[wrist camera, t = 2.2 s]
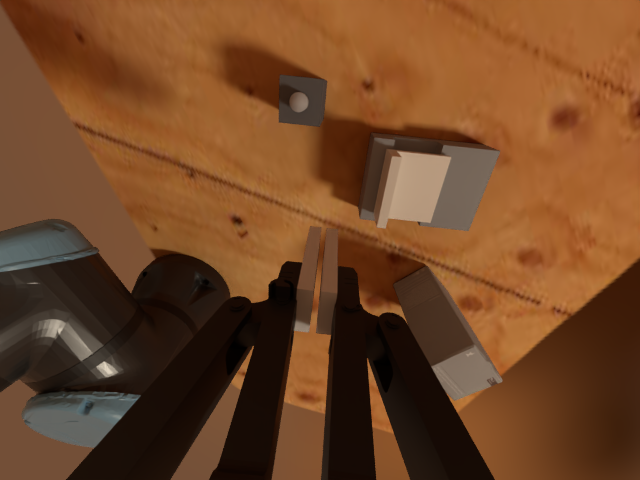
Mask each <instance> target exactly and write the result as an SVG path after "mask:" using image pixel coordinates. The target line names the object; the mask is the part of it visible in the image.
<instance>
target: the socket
mask: <svg viewBox="0 0 640 480" xmlns="http://www.w3.org/2000/svg"><path fill="white" fill-rule="evenodd" d="M386 149H393V150H402V151H411V152H420V153H430V154H439V155H448V156H450V157H451V160H450V163H449V166H448V169H447V173H446V176H445V179H444V182H443V185H442V188H441V191H440V195H439V198H438V201H437V204H436V207H435V210H434V213H433V216H432V220H431V223H427V222H418V221H417V222H418V224H419V225H420V226H428V227H437V228H446V229H455V230H464V231H469V228H470V226H471V223H472V221H473V218H474V216H475V213H476V211H477V208H478V206H479V203H480V201H481V198H482V196H483V193H484V191H485V188H486V186H487V183H488V181H489V178H490V176H491V173H492V171H493V168H494V166H495V163H496V161H497V158H498V156H499V153H500V151H499V150H496V149H494V148H491V147H489V146H486V145H483V144H474V143H465V142H455V141H446V140H437V139H427V138H418V137H409V136H399V135H390V134H381V133H372V132H371V135H370V141H369V147H368V153H367V159H366V165H365V170H364V176H363V182H362V188H361V194H360V199H359V205H358V209H359V216H360V219H365V220H374V221H375V219H374V215H373V213H374V208H375V203H376V198H377V193H378V188H379V183H380V179H381V174H382V169H383V164H384V159H385V154H386Z"/></svg>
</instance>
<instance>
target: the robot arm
mask: <svg viewBox="0 0 640 480" xmlns="http://www.w3.org/2000/svg"><path fill="white" fill-rule="evenodd" d="M320 236H321V227H312V226H310V229H309V234H308V239H307V244H306V248H305V253H304V258H303V263H300V262H291V261H287V262H285V263H284V264H283V265H282V267H281V270H280V273H279V277H278V279H274V280H273V281H271V282H270V284H269V299H267V300H265V301H262V302H257V303H251V301H250V300H249V299H248V298H246V297H241V296H237V297H232V298H230V292H229V289H228V286H227V284H226V282H225V281H224V279H223V278H222V277H221V275H220V274H219V273H218V272H217V271H216V270H214V269H213V268H212V267H211V266H209V265H208V264H206V263H204V262H202V261H200V260H198V259H195V258H193V257H189V256H184V255H166V256H162V257H159V258H157V259H155V260H154V261H152V262H151V263H150V264H149V265H148V266H147V267H146V268H145V269H144V270H143V271H142V272H141V274H140V275H139V277H138V279H137V281H136V284H135V286H134V288H133V290H132V293H130V292H129V291H128V290H127V289H126V287H125V286H124V285H123V283H122V282H121V281H120V280H119V279H118V277H117V276H116V275H115V273H114V272H113V271H112V270H111V268H110V267H109V266H108V265H107V263H106V262H105V261H104V259H103V258H102V257H101V256H100V254H99V253H98V252H99V250H98V248H96V247H93V246H92V245H91V244H90V242H89V241H88V240H87V239H86V238H85V237H84V236H83V235H82V233H81V232H80V231H79V230H78V229H77V228H76V227H75V226H74V225H72V224H71V223H69V222H67V221H64V220H59V219H48V220H43V221H39V222H34V223H31V224H27V225H23V226H19V227H15V228H12V229H8V230H5V231H1V232H0V392H1V391H3V390H4V389H5V388H7V387H8V386H10V385H11V384H13V383H14V382H15V381H17V380H19V379H20V380H21V381H22V382H24V383H25V384H26V385H28V386H29V387H30V388H31V389H33V390H34V391H35V392H36V396H34V397H32V398H31V399H30V400H28V401H27V404H26V406H25V408H24V409H23V411H22V418H23V419H24V420H25V421H24V422H25V424H26V425H28V426H29V427H30V428H31V429H33V430H35V431H36V432H38V433H41V434H42V435H45V436H47V437H50V438H53V439H55V440H58V441H62V442H65V443H69V444H74V445H79V446H86V447H94V449H93V450H92V451H91V452H90V453H89V455H88V456H87V457H86V458H85V459H84V460H83V461H82V462H81V464H80V465H79V466H78V467H77V468H76V469H75V470H74V471H73V473H72V474H71V475H70V476H69V477H68V478H67V479H66V480H170V479H171V478H172V476H173V474H174V473H175V471H176V470H177V468H178V466H179V465H180V463H181V461H182V460H183V458H184V457H185V455H186V453H187V452H188V450H189V449H190V447H191V445H192V444H193V442H194V440H195V439H196V437H197V436H198V434H199V433H200V431H201V429H202V428H203V426H204V425H205V423H206V421H207V419H208V418H209V416H210V415H211V413H212V412H213V410H214V408H215V407H216V405H217V404H218V402H219V400H220V399H221V397H222V395H223V394H224V392H225V391H226V389H227V388H228V386H229V384H230V383H231V381H232V379H233V378H234V376H235V375H236V373H237V371H238V370H239V368H240V367H241V365H242V363H243V362H244V360H245V359H246V357H247V355H248V354H249V352H250V350H251V349H252V346H254V349H253V352H252V355H251V359H250V362H249V365H248V368H247V372H246V375H245V378H244V382H243V385H242V388H241V392H240V395H239V398H238V402H237V405H236V408H235V412H234V415H233V418H232V422H231V425H230V428H229V432H228V435H227V438H226V441H225V445H224V448H223V452H222V455H221V458H220V461H219V464H218V466H217V468H216V469H215V470H214V471H213V472H212V475H211V477H210V479H209V480H271V479H272V473H273V466H274V460H275V453H276V447H277V441H278V435H279V428H280V422H281V415H282V409H283V402H284V396H285V389H286V383H287V377H288V370H289V364H290V357H291V351H292V344H293V336H294V331H302V332H309V328H310V320H311V312H312V304H313V296H314V288H315V280H316V272H317V264H318V255H319V245H320ZM316 333H319V334H328V335H331V339H330V346H329V352H328V354H329V365H328V381H327V397H326V412H325V428H324V444H323V459H322V476H321V480H376V471H375V458H374V445H373V431H372V418H371V405H370V392H369V379H368V366H367V358H368V359H369V363H370V366H371V369H372V372H373V375H374V378H375V381H376V383H377V386H378V389H379V392H380V395H381V398H382V400H383V403H384V406H385V409H386V412H387V415H388V417H389V420H390V423H391V426H392V429H393V432H394V435H395V437H396V440H397V443H398V446H399V449H400V451H401V454H402V457H403V460H404V463H405V466H406V468H407V472H408V474H409V477H410V480H495V479H494V477H493V476H492V474H491V472H490V470H489V468H488V467H487V465H486V463H485V461H484V460H483V458H482V456H481V454H480V453H479V451H478V449H477V447H476V445H475V444H474V442H473V440H472V439H471V437H470V435H469V433H468V431H467V429H466V428H465V426H464V424H463V422H462V420H461V419H460V417H459V415H458V413H457V412H456V410H455V408H454V406H453V404H452V403H451V401H450V399H449V397H448V396H447V394H446V392H445V390H444V388H443V387H442V385H441V383H440V381H439V380H438V378H437V376H436V374H435V372H434V371H433V369H432V367H431V365H430V364H429V362H428V360H427V358H426V356H425V355H424V353H423V351H422V349H421V348H420V346H419V344H418V342H417V340H416V339H415V337H414V335H413V333H412V332H411V330H410V328H409V326H408V324H407V323H406V321H405V320H404V319H403V318H402V317H401V316H399V315H397V314H394V313H388V312H387V313H383V314H381V315H380V316H379V317H378V316H375V315H372V314H370V313H368V312H367V311H365V310H364V309H363V307H362V305H361V304H360V298H359V287H358V277H357V273H356V271H355V270H354V268H350V267H341V266H338V229H330V228H327V230H326V239H325V247H324V256H323V265H322V276H321V286H320V297H319V307H318V318H317V328H316Z"/></svg>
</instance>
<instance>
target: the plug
mask: <svg viewBox="0 0 640 480" xmlns="http://www.w3.org/2000/svg"><path fill="white" fill-rule="evenodd" d="M326 88H327V81H326V80H324V79H316V78H306V77H297V76H287V75H280V84H279V122H281V123H290V124H299V125H308V126H318V127H320V125H321V123H322V121H323V119H324V110H325V99H326Z"/></svg>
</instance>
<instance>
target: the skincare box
mask: <svg viewBox="0 0 640 480" xmlns="http://www.w3.org/2000/svg"><path fill="white" fill-rule="evenodd" d="M393 286H394V289H395V291H396V294H397V297H398V299H399V302H400V305H401V307H402V310H403V313H404V315H405V318H406V321H407V323H408V326H409V328H410V330H411V332H412V333H413V335H414V337H415V339H416V340H417V342H418V344H419V346H420V348H421V349H422V351H423V353H424V355H425V356H426V358H427V360H428V362H429V364H430V365H431V367H432V369H433V371H434V372H435V374H436V376H437V378H438V380H439V381H440V383H441V385H442V387H443V388H444V390H445V392H446V393H447V394H448V395H449V396H450V397H451V398H452V399H453V400H458V399H460V398H463V397H465V396H468V395H470V394H473V393H475V392H478V391H480V390H483V389H485V388H488V387H490V386H493V385H495V384H498V383H501V382H502V378H501V376H500V375H499V373H498V371H497V370H496V368H495V366H494V365H493V363H492V361H491V360H490V358H489V356H488V355H487V353H486V351H485V350H484V348H483V347H482V345H481V343H480V341H479V340H478V338H477V336H476V335H475V333H474V332H473V330H472V328H471V327H470V325H469V324H468V322H467V321H466V319H465V317H464V316H463V314H462V313H461V311H460V310H459V308H458V307H457V305H456V303H455V302H454V300H453V299H452V297H451V295H450V294H449V293H448V291H447V290H446V288H445V287H444V286H443V285H442V283H441V282H440V281H439V280H438V278H437V277H436V276H435V275H434V273H433V272H432V271H431V270H430V268H429V267H428V266H425V267H423V268H421V269H419V270H418V271H416V272H414V273H413V274H411V275H409V276H407V277H406V278H404V279H402V280H400V281H398V282H396V283H394V284H393Z"/></svg>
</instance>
